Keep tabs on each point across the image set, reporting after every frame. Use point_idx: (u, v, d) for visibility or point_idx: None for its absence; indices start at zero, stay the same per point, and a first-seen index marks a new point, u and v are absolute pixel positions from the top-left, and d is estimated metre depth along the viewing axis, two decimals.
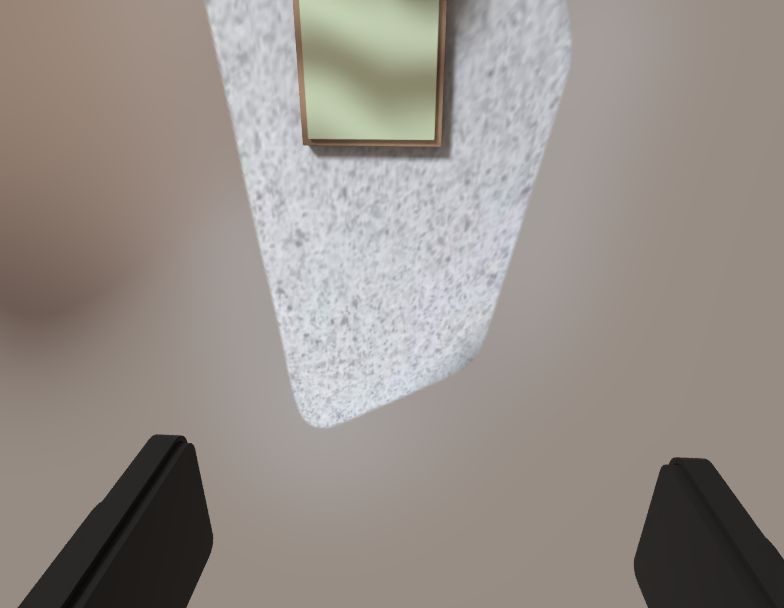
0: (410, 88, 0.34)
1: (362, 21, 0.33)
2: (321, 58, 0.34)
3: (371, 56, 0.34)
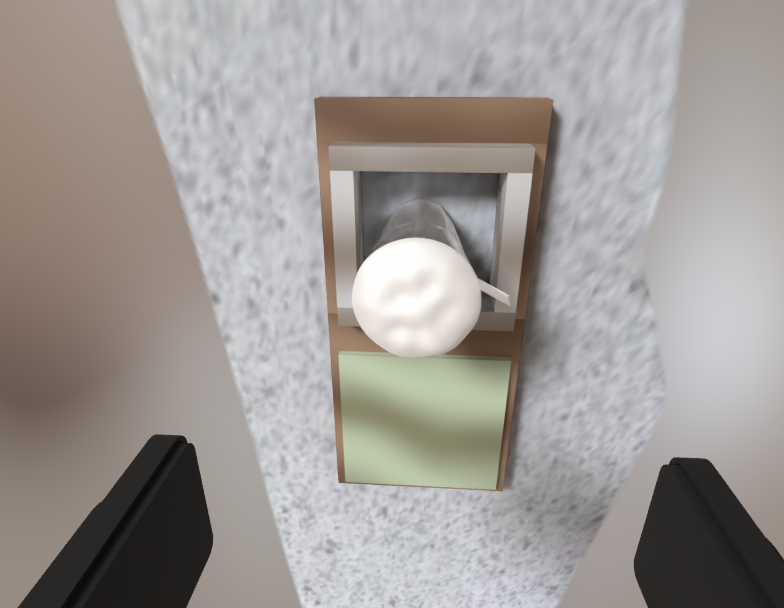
0: (470, 444, 0.29)
1: (415, 384, 0.27)
2: (364, 414, 0.28)
3: (424, 415, 0.28)
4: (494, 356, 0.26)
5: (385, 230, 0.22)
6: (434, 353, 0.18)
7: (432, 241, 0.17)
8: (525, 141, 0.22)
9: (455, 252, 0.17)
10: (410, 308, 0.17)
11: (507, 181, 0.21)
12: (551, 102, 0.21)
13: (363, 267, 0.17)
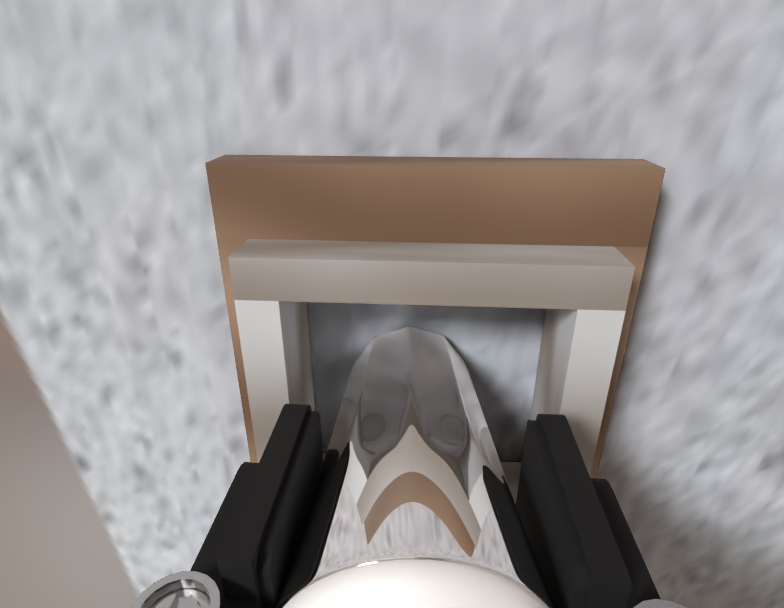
0: None
1: None
2: None
3: None
4: None
5: (347, 413, 0.11)
6: None
7: (459, 577, 0.06)
8: (605, 242, 0.11)
9: (518, 601, 0.06)
10: None
11: (574, 323, 0.11)
12: (661, 173, 0.11)
13: None
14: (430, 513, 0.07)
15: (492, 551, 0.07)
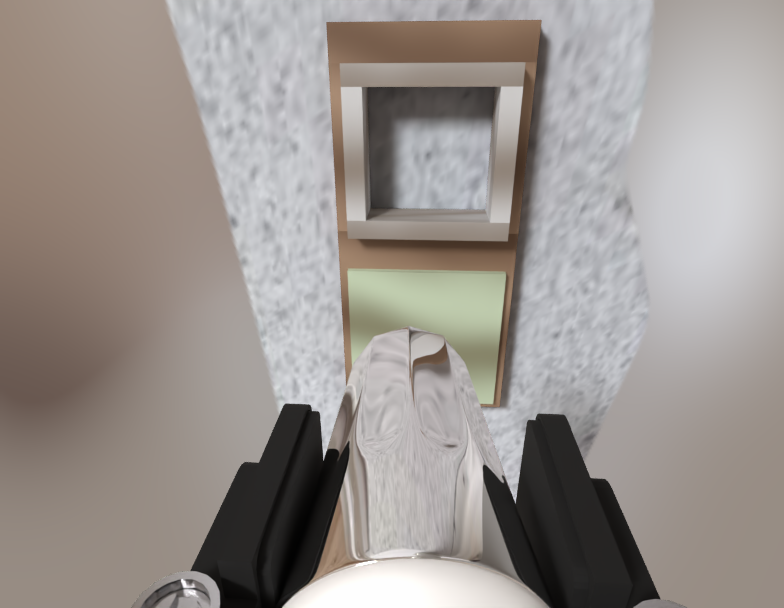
0: (469, 359, 0.31)
1: (418, 299, 0.29)
2: (370, 330, 0.31)
3: (426, 329, 0.30)
4: (490, 271, 0.29)
5: (347, 413, 0.11)
6: None
7: (459, 576, 0.06)
8: (516, 60, 0.24)
9: (519, 600, 0.06)
10: None
11: (500, 95, 0.24)
12: (539, 22, 0.23)
13: None
14: (430, 512, 0.07)
15: (492, 550, 0.07)
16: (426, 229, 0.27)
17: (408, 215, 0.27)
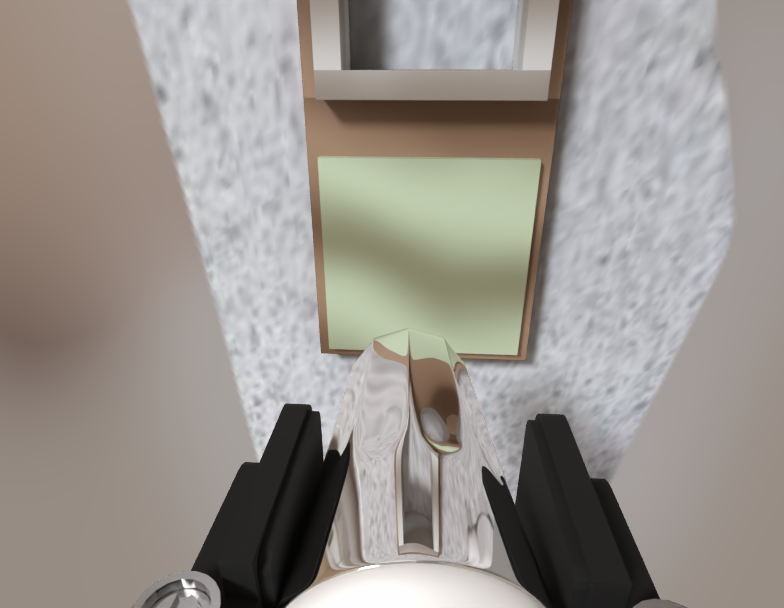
0: (486, 289, 0.23)
1: (416, 199, 0.21)
2: (351, 247, 0.22)
3: (428, 246, 0.22)
4: (518, 158, 0.20)
5: (346, 415, 0.11)
6: None
7: (459, 580, 0.06)
8: None
9: (519, 605, 0.06)
10: None
11: None
12: None
13: None
14: (430, 516, 0.07)
15: (492, 554, 0.07)
16: (429, 82, 0.18)
17: None
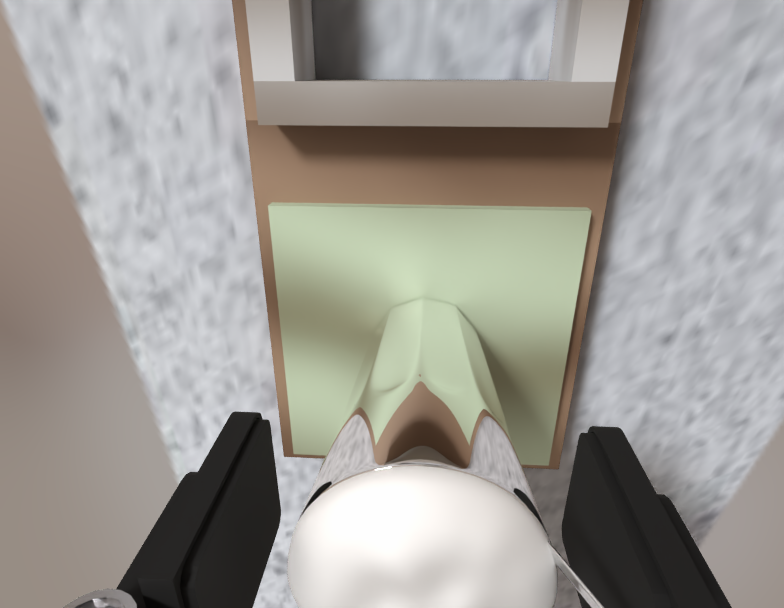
0: (507, 383, 0.16)
1: (410, 264, 0.15)
2: (320, 326, 0.16)
3: None
4: (557, 207, 0.14)
5: (365, 371, 0.13)
6: None
7: (449, 478, 0.08)
8: None
9: (501, 500, 0.08)
10: None
11: None
12: None
13: (303, 530, 0.08)
14: (429, 435, 0.09)
15: (481, 464, 0.08)
16: (428, 100, 0.12)
17: (390, 80, 0.13)
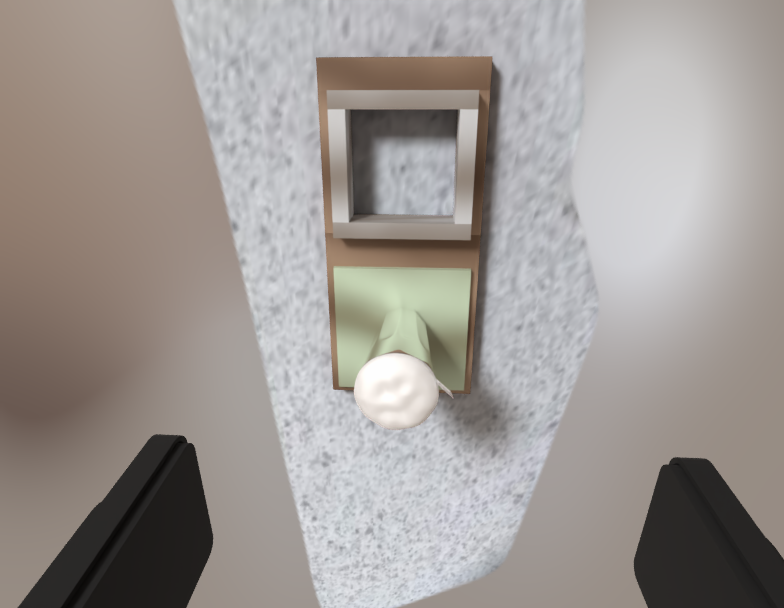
0: (441, 348, 0.35)
1: (395, 293, 0.34)
2: (354, 321, 0.35)
3: None
4: (457, 268, 0.33)
5: (376, 336, 0.31)
6: (409, 426, 0.27)
7: (403, 355, 0.26)
8: (473, 88, 0.29)
9: (418, 362, 0.26)
10: (392, 399, 0.26)
11: (460, 116, 0.28)
12: (491, 58, 0.28)
13: (360, 373, 0.26)
14: (398, 347, 0.27)
15: (414, 354, 0.27)
16: (400, 229, 0.31)
17: (385, 219, 0.32)
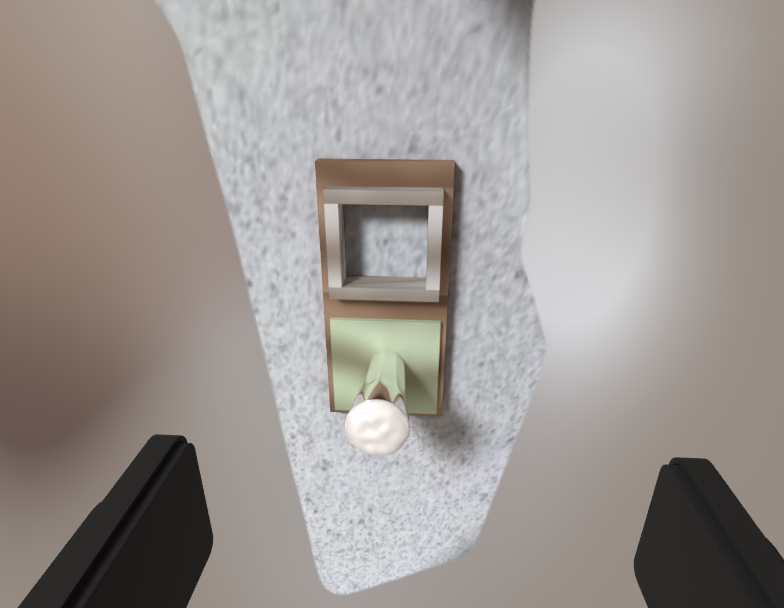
0: (417, 381, 0.43)
1: (379, 339, 0.42)
2: (346, 360, 0.43)
3: None
4: (430, 320, 0.41)
5: (363, 377, 0.39)
6: (387, 454, 0.35)
7: (382, 401, 0.34)
8: (440, 186, 0.36)
9: (394, 406, 0.34)
10: (373, 434, 0.34)
11: (428, 210, 0.36)
12: (453, 164, 0.36)
13: (349, 414, 0.35)
14: (379, 393, 0.35)
15: (391, 399, 0.35)
16: (383, 293, 0.39)
17: (371, 282, 0.40)
